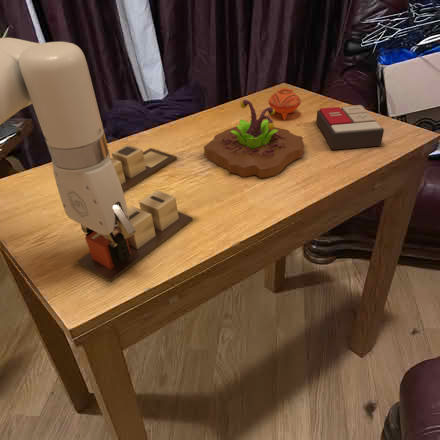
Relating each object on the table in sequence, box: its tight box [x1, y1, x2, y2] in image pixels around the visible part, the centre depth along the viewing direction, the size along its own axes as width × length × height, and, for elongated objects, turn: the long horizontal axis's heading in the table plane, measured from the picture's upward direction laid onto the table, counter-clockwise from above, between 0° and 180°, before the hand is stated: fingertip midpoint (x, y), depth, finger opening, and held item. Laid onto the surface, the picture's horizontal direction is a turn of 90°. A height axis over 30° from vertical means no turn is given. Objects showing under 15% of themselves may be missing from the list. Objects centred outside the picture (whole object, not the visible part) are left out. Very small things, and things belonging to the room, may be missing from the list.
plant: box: [203, 99, 305, 179], centre depth 90 cm, size 20×20×11 cm
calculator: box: [315, 104, 385, 151], centre depth 97 cm, size 11×4×15 cm
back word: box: [109, 144, 178, 193], centre depth 89 cm, size 8×20×5 cm, turn 143°
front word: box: [77, 189, 194, 283], centre depth 72 cm, size 8×20×5 cm, turn 143°
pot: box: [268, 87, 302, 121], centre depth 106 cm, size 8×8×7 cm
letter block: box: [84, 228, 131, 269], centre depth 69 cm, size 4×4×5 cm
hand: (110, 254), depth 70 cm, fingers closed on letter block, 4 cm apart
